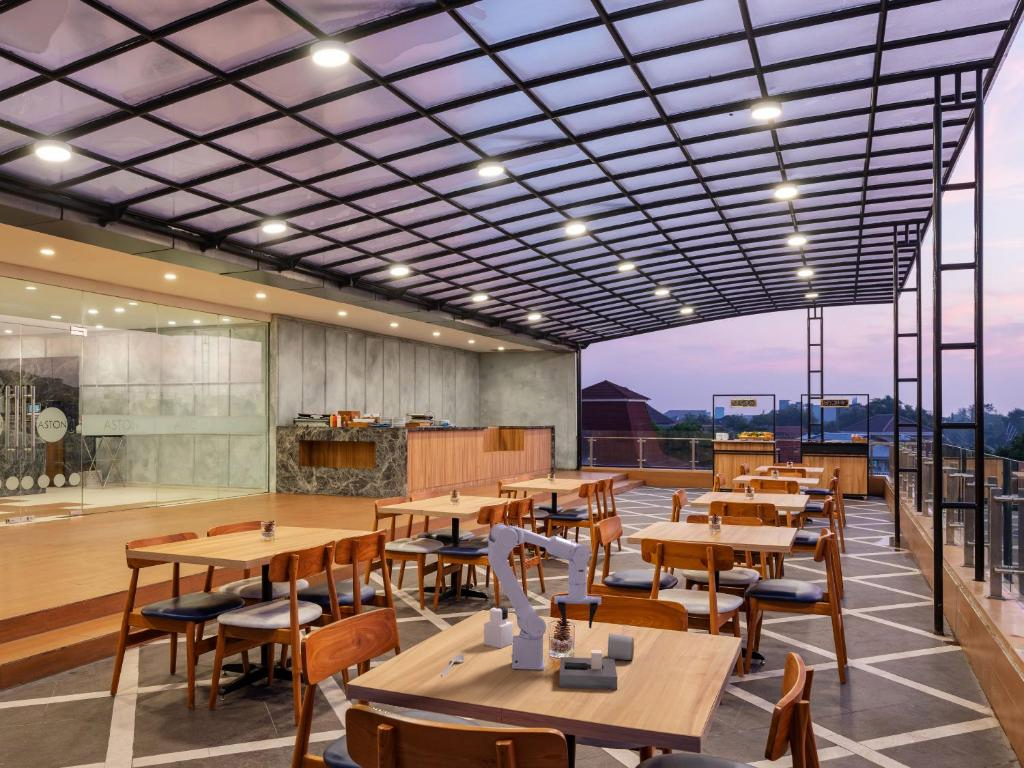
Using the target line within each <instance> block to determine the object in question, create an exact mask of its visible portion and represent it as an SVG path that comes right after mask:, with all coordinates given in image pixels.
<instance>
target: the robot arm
mask: <svg viewBox="0 0 1024 768" xmlns="http://www.w3.org/2000/svg"><path fill="white" fill-rule="evenodd" d="M487 541H488V542H487V543H488V551H487V554H488V555H487V560H488V563H489V565H490V566H491V568H492V570H493V572H494V574H495V576H496V578H497V579H498V581H499V583H500V585H501V587H502V589H503V591H504V593H505V594H506V596H507V598H508V600H509V602H510V604H511V606H512V608H513V609H514V615H515V617H516V623H517V627H518V628H519V629H520V631H519V634H518V635H513V644H511V646H512V648H511V649H512V651H511V652H512V653H511V663H512V666H511V667H512V669H513V670H514V669H515V670H537V671H539V670H540V671H541V670H542V671H544V670H545V660H544V634H546V630H547V625H546V621H545V620H544V619H543V618H542V617H540V616H539V615H538V613H537V611H536V609H534V608H533V606H532V605H531V603H530V601H529V599H528V598H527V596H526V593H525V592H524V591H523V589H522V587H521V584H520V583H519V581H518V579H517V578H516V576H515V573H514V571H513V570H512V568H511V565H510V564H509V563H508V558H509V555H510V554H511V552H512V550H513V549H514V548H515V547H516V545H517V544H518V545H521V544H523V543H529V544H532V545H536V546H538V547H540V548H545V550H546V552H547V553H548V554H549V555H551V556H555V557H558V558H561V559H564V560H568V595H554V598H553V599H554V600H553V601H554V602H553V603H554V604H555V605H557V608H558V610H559V612H560V613H559V614H560V615H561V618H562V621H563V628H567V604H573V605H574V604H576V605H577V604H579V605H581V604H582V605H589V619H588V628H589V629H592V625H593V620H594V617H595V615H596V612H597V610H598V607H599V606H600V605H602V597H601V596H592V595H588V565H587V564H588V562H589V561H590V558H591V554H590V551H589V549H588V548H587V547H586V546H585V545H582V544H580V543H577V542H576V540H568V539H566V538H563V536H561V535H559V534H557V536H556V535H552V536H550V537H546V536H543V535H541V534H538V533H535V532H532V531H530V530H528V529H524V528H522V527H518V526H513V525H506V524H504V523H497V524H495V525H493V526H492V527H491V529H490V531H489V533H488V536H487ZM598 605H599V606H598Z"/></svg>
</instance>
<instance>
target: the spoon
mask: <svg viewBox="0 0 1024 768" xmlns="http://www.w3.org/2000/svg"><path fill="white" fill-rule="evenodd" d="M454 660H462V661H461V662H460V661H454ZM454 662H455V663H456V664H460V663H463V662H465V656H464V655H463V654H457V655H455V656H454V657H453V658H451V659H450V663H449V665H448V666H447V667H446V668H445V669H444V670H443V671H442V672H441V673H442V674H441V673H440V676H441V675H442V676H441V677H445V676H447V675H448V674H449V672H450V670H451V668H452V666H453V665H454ZM447 673H448V674H447ZM446 674H447V675H446ZM444 675H445V676H444Z"/></svg>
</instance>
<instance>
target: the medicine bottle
mask: <svg viewBox="0 0 1024 768" xmlns="http://www.w3.org/2000/svg"><path fill="white" fill-rule="evenodd" d="M508 620H509V610H508V608H506V607H504V606H493V607H492V608H490V610H489V621H487V622H484V623H483V626H484V628H483V645H484V644H485V645H484V646H488V645H489V646H488V647H492V646H493V648H497V647H498V648H497V649H503V648H505V646H506V647H508V646H511V645H513V644H512V643H513V636H514V622H513V621H508ZM510 644H511V645H510ZM507 645H508V646H507ZM502 647H503V648H502Z"/></svg>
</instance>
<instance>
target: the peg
mask: <svg viewBox="0 0 1024 768" xmlns="http://www.w3.org/2000/svg"><path fill="white" fill-rule="evenodd" d="M590 656H591V657H590V658H591V669H602V659H603V651H602V650H601V649H599V650H598V649H591V650H590Z"/></svg>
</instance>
